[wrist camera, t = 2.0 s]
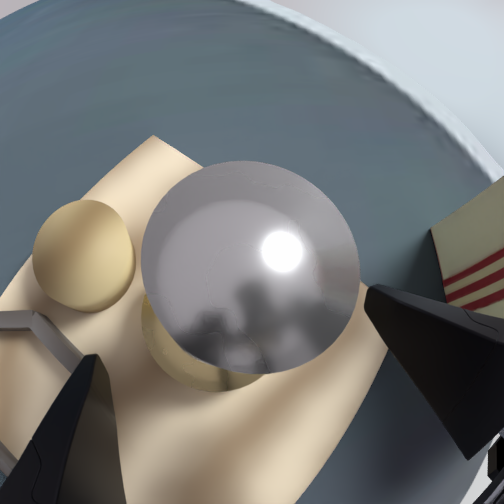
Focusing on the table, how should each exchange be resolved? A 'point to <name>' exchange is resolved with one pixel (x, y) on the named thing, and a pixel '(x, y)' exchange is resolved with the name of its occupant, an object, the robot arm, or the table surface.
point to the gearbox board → (147, 369)
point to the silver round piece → (244, 275)
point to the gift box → (474, 253)
